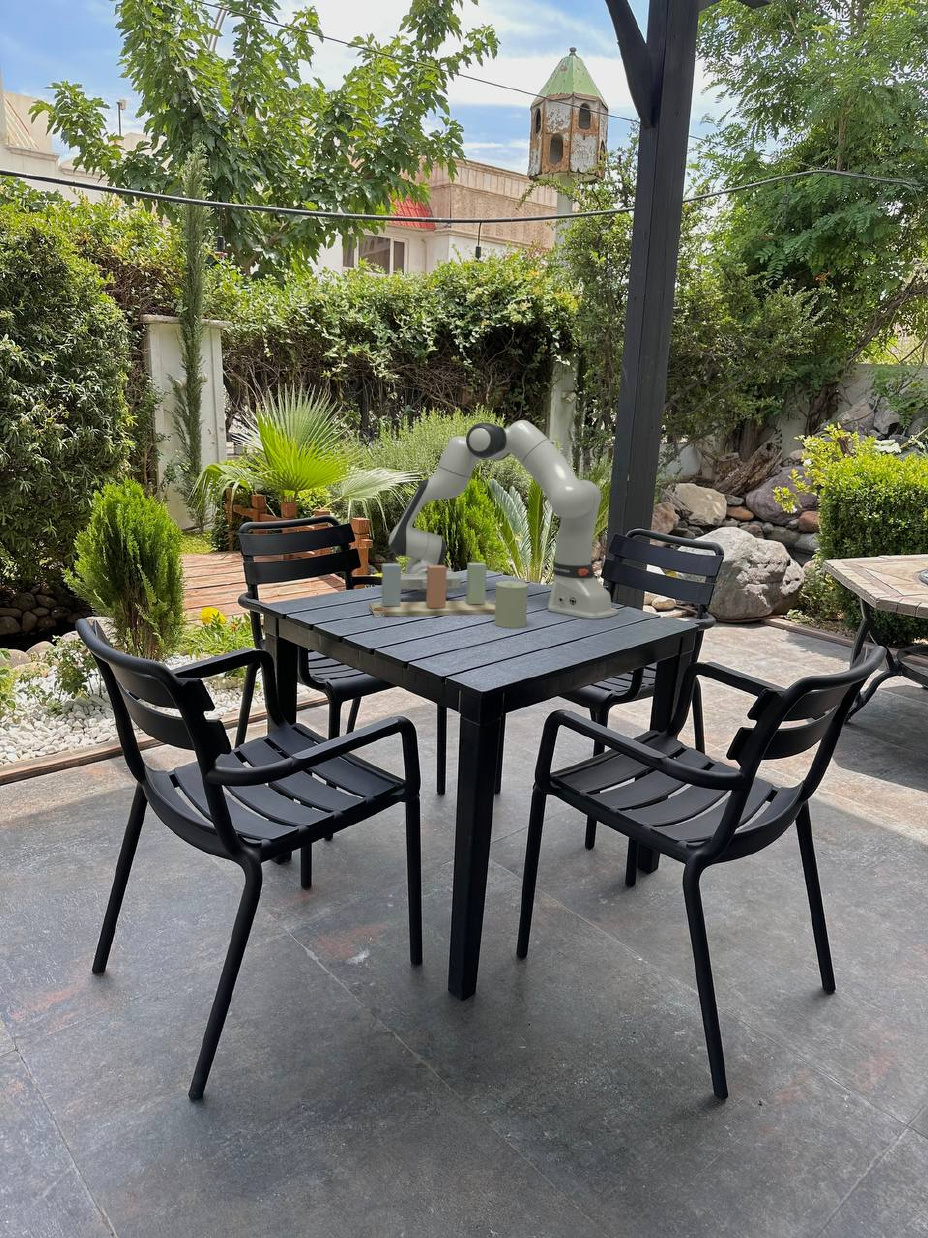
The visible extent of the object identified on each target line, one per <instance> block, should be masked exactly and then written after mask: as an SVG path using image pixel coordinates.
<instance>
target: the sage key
mask: <svg viewBox="0 0 928 1238" xmlns="http://www.w3.org/2000/svg"><path fill="white" fill-rule="evenodd" d="M466 566H467V567H466V593H465V595H466V597H465V599H466V600H465V601H466V602H467V603H468V604H485V600H486V594H487V593H486V592H487V566H488V565H487V564H486V563H485V562H467V565H466Z"/></svg>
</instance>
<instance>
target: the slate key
mask: <svg viewBox="0 0 928 1238" xmlns="http://www.w3.org/2000/svg"><path fill="white" fill-rule="evenodd" d="M401 574H402V566H401V564H400V563H397V562H396V563H394V562H391V563H381V603H382V604H383V606H400V602H402V601H401V593H402V592H401V591H402V590H401Z"/></svg>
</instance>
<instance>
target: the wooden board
mask: <svg viewBox="0 0 928 1238" xmlns="http://www.w3.org/2000/svg"><path fill="white" fill-rule="evenodd" d="M426 603H427V601H401V602H400V606H383V604H382V602H369V606H370V608H371V610H372V612H373V614H374V616H377V615H381V616H383V615H384V616H408V617H435V616H436V617H437V616H438V617H443V616H444V617H445V616H446V617H447V616H476V615H477V616H480V615H495V604H496V602H494V601H493V600H492V599H488V600H487V599H485V604H468V603H467V602H466V600H448V601H447V600H446V607H445V608H429V607H428V606H427V605H426ZM370 608H369V609H370ZM371 610H370V611H371ZM372 612H371V613H372ZM373 614H372V615H373ZM374 616H373V617H374Z"/></svg>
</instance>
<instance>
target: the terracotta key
mask: <svg viewBox="0 0 928 1238" xmlns="http://www.w3.org/2000/svg"><path fill="white" fill-rule="evenodd" d="M447 568H448V567H446V566H445V564H442V565H427V592H426V602H427V603H426V605H427V606H428V607H429V608H445V607H446V601H447V589H446V572H447Z"/></svg>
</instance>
